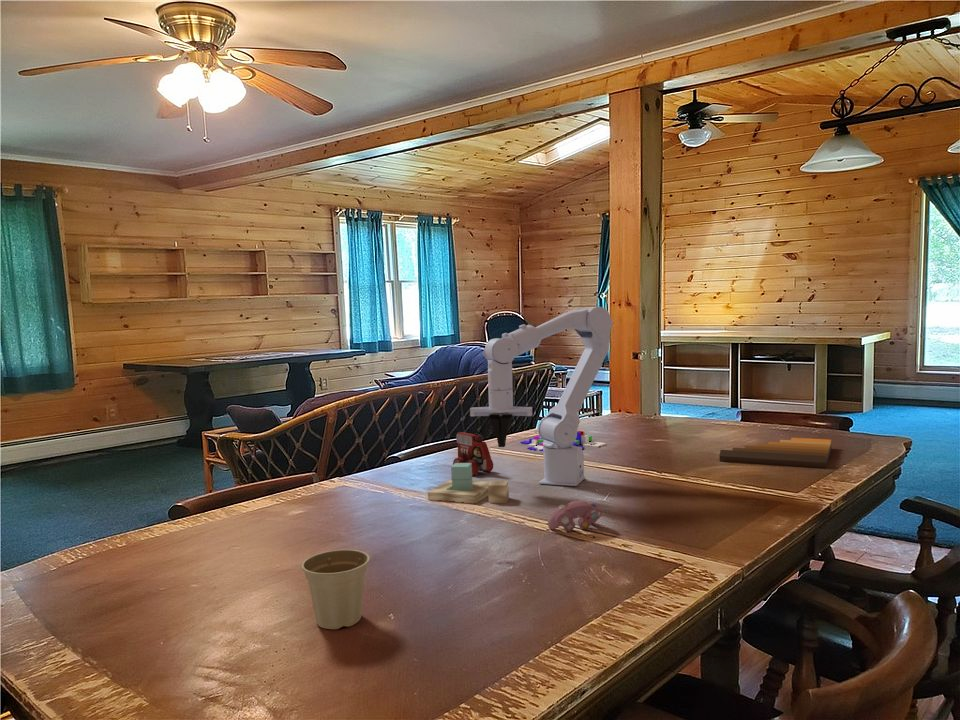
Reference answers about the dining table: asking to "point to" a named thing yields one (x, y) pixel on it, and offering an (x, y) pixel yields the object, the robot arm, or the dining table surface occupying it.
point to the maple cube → (498, 492)
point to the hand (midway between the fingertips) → (501, 446)
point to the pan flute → (783, 453)
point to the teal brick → (462, 476)
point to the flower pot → (336, 586)
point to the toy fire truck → (473, 452)
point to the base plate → (459, 492)
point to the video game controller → (574, 515)
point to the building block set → (580, 439)
